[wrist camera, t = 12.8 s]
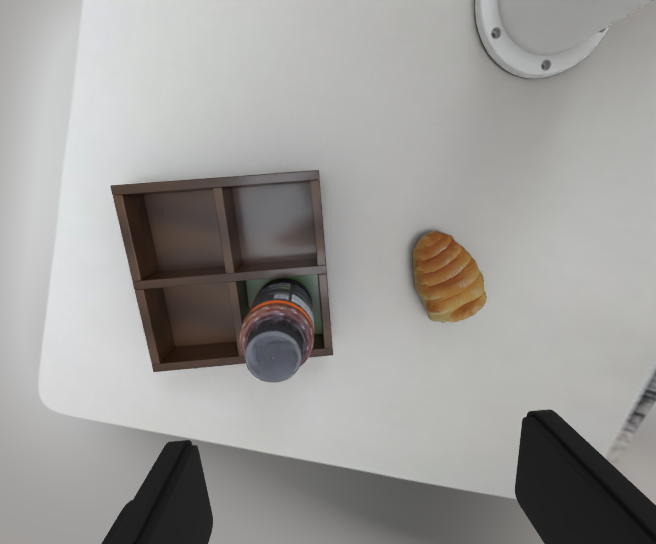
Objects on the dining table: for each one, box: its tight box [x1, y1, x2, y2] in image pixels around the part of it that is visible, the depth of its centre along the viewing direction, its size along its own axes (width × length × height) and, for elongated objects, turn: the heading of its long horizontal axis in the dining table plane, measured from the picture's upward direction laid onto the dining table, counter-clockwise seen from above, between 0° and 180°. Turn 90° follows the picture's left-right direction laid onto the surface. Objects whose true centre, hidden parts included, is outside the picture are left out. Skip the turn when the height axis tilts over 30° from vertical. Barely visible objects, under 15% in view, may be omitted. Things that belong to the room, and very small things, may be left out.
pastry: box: [412, 231, 487, 323], centre depth 32 cm, size 9×7×4 cm
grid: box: [111, 170, 333, 372], centre depth 30 cm, size 17×17×4 cm
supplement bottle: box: [239, 278, 314, 382], centre depth 27 cm, size 6×6×11 cm
